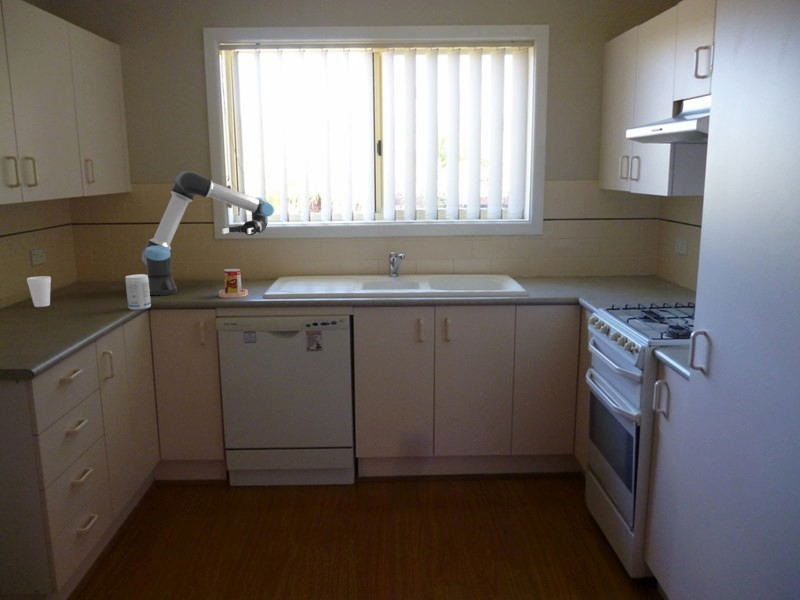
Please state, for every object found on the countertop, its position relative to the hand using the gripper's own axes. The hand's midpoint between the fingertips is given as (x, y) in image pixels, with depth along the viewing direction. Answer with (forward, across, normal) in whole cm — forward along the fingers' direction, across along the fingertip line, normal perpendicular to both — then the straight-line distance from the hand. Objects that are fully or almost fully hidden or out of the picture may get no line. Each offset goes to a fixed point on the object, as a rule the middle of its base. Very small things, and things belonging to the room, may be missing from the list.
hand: (235, 231), depth 331 cm
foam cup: (+51, +74, -30) cm, 95 cm away
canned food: (+15, -4, -30) cm, 33 cm away
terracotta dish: (+15, -4, -30) cm, 34 cm away
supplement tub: (+50, +25, -30) cm, 63 cm away
